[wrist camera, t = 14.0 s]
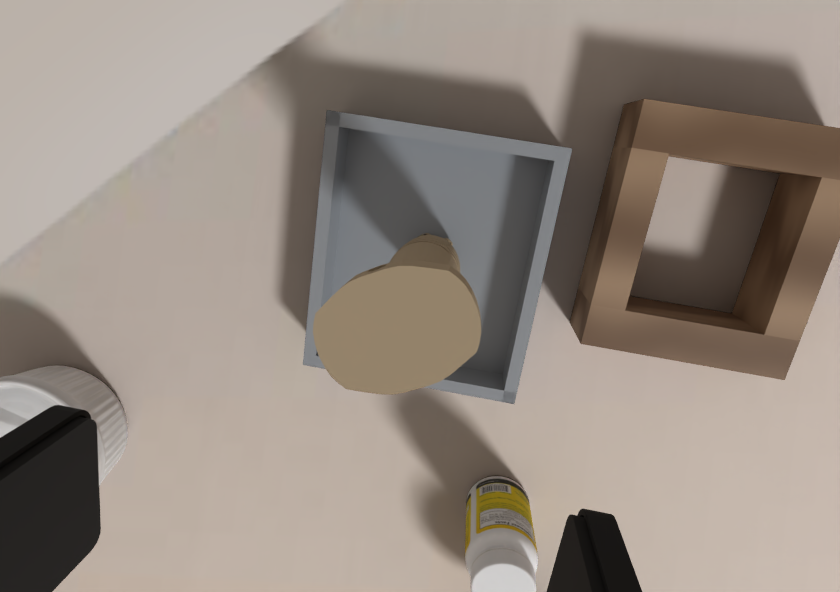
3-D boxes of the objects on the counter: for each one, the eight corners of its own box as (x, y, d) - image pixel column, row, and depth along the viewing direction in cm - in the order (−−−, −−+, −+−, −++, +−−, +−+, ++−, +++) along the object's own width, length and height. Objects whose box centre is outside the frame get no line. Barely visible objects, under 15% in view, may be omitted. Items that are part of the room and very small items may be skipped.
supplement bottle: (499, 537, 41) (505, 634, 33) (453, 501, 40) (447, 590, 32) (542, 499, 39) (559, 590, 31) (495, 462, 39) (499, 544, 31)
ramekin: (107, 337, 40) (53, 365, 35) (164, 464, 42) (122, 507, 37) (-13, 369, 41) (-81, 399, 36) (49, 487, 44) (-6, 532, 39)
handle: (374, 236, 34) (294, 298, 20) (468, 204, 33) (456, 245, 18) (399, 304, 35) (341, 410, 21) (491, 276, 34) (497, 367, 20)
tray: (341, 113, 33) (326, 109, 30) (562, 148, 32) (572, 148, 29) (318, 345, 38) (302, 364, 34) (510, 380, 37) (514, 404, 34)
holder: (623, 104, 31) (644, 98, 27) (830, 135, 31) (880, 134, 27) (569, 322, 35) (580, 343, 31) (750, 354, 35) (784, 379, 31)
